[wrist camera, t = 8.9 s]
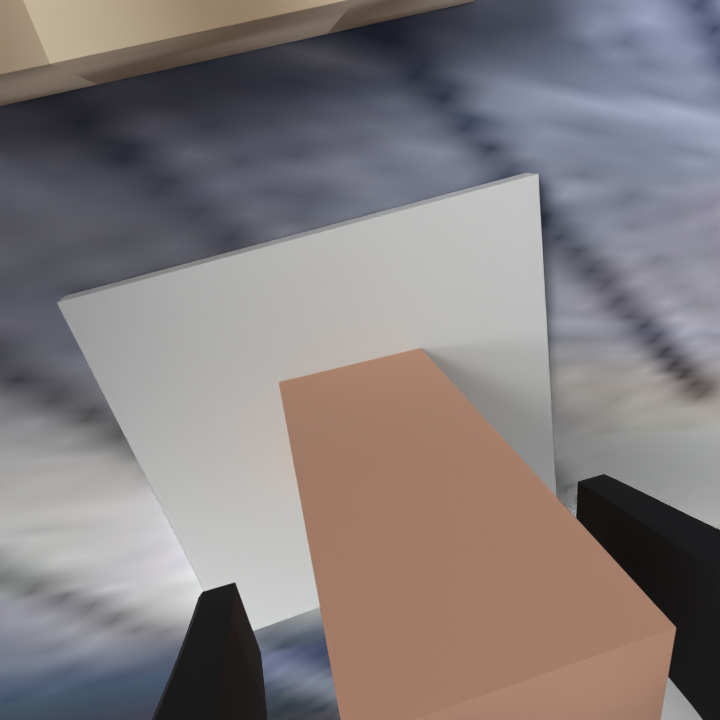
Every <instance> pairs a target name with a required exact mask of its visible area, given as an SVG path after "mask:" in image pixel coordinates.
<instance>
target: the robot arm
mask: <svg viewBox="0 0 720 720" xmlns="http://www.w3.org/2000/svg"><path fill="white" fill-rule="evenodd" d="M576 519H577V520H578V521H579V522H580V523H581V524H582V525H583V526H584V527H585V528H586V529H587V531H588V532H589V533H590V534H591V535H592V536H593V537H594V538H595V539H596V540H597V541H598V543H599V544H600V545H601V546H602V547H603V548H604V549H605V550H606V551H607V552H608V554H609V555H610V556H611V557H612V558H613V559H614V560H615V561H616V562H617V563H618V564H619V566H620V567H621V568H622V569H623V570H624V571H625V572H626V573H627V574H628V575H629V576H630V578H631V579H632V580H633V581H634V582H635V583H636V584H637V585H638V586H639V587H640V589H641V590H642V591H643V592H644V593H645V594H646V595H647V596H648V597H649V598H650V599H651V601H652V602H653V603H654V604H655V605H656V606H657V607H658V608H659V609H660V610H661V611H662V613H663V614H664V615H665V616H666V617H667V618H668V619H669V620H670V621H671V622H672V623H673V625H674V626H675V627H676V632H675V638H674V644H673V650H672V656H671V662H670V667H669V673H668V677H669V679H670V680H671V681H672V682H673V683H674V685H675V686H676V687H677V688H678V689H679V691H680V692H681V693H682V694H683V695H684V697H685V698H686V699H687V700H688V702H689V703H690V704H691V705H692V706H693V708H694V709H695V710H696V712H697V713H698V714H699V716H700V717H701V718H702V719H703V720H720V530H719V529H716V528H714V527H712V526H710V525H708V524H706V523H704V522H702V521H700V520H698V519H696V518H693V517H691V516H689V515H687V514H685V513H683V512H681V511H679V510H677V509H675V508H673V507H671V506H669V505H667V504H665V503H663V502H661V501H659V500H657V499H655V498H653V497H651V496H649V495H647V494H645V493H643V492H641V491H639V490H637V489H634V488H632V487H630V486H628V485H626V484H624V483H622V482H620V481H618V480H616V479H614V478H611V477H609V476H607V475H605V474H603V475H599V476H596V477H593V478H589V479H586V480H582V481H579V482H578V493H577V517H576ZM152 720H267V710H266V699H265V689H264V679H263V669H262V660H261V652H260V649H259V646H258V644H257V641H256V638H255V635H254V633H253V630H252V627H251V624H250V622H249V619H248V616H247V613H246V610H245V608H244V605H243V602H242V599H241V597H240V594H239V591H238V588H237V586H236V583H235V582H234V583H231V584H227V585H224V586H220V587H217V588H214V589H210V590H207V591H203V592H202V594H201V595H200V597H199V598H198V601H197V604H196V607H195V610H194V613H193V616H192V619H191V622H190V625H189V628H188V630H187V633H186V636H185V639H184V641H183V644H182V647H181V649H180V652H179V655H178V657H177V660H176V662H175V665H174V668H173V670H172V673H171V675H170V677H169V680H168V682H167V685H166V687H165V690H164V692H163V694H162V697H161V699H160V702H159V704H158V706H157V709H156V711H155V714H154V716H153V718H152Z"/></svg>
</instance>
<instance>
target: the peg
mask: <svg viewBox="0 0 720 720" xmlns="http://www.w3.org/2000/svg"><path fill="white" fill-rule="evenodd" d="M279 387H280V392H281V398H282V403H283V408H284V414H285V419H286V425H287V430H288V436H289V441H290V447H291V452H292V457H293V463H294V468H295V474H296V479H297V485H298V490H299V495H300V501H301V506H302V512H303V517H304V523H305V528H306V534H307V539H308V544H309V550H310V555H311V561H312V566H313V572H314V577H315V582H316V588H317V593H318V599H319V604H320V610H321V615H322V620H323V626H324V631H325V637H326V642H327V648H328V653H329V659H330V664H331V669H332V675H333V680H334V686H335V691H336V697H337V702H338V707H339V713H340V718H341V720H661V714H662V708H663V702H664V697H665V691H666V685H667V679H668V673H669V667H670V662H671V656H672V650H673V644H674V638H675V632H676V627H675V626H674V625H673V623H672V622H671V621H670V620H669V619H668V618H667V617H666V616H665V615H664V614H663V613H662V611H661V610H660V609H659V608H658V607H657V606H656V605H655V604H654V603H653V602H652V601H651V599H650V598H649V597H648V596H647V595H646V594H645V593H644V592H643V591H642V590H641V589H640V587H639V586H638V585H637V584H636V583H635V582H634V581H633V580H632V579H631V578H630V576H629V575H628V574H627V573H626V572H625V571H624V570H623V569H622V568H621V567H620V566H619V564H618V563H617V562H616V561H615V560H614V559H613V558H612V557H611V556H610V555H609V554H608V552H607V551H606V550H605V549H604V548H603V547H602V546H601V545H600V544H599V543H598V541H597V540H596V539H595V538H594V537H593V536H592V535H591V534H590V533H589V532H588V531H587V529H586V528H585V527H584V526H583V525H582V524H581V523H580V522H579V521H578V520H577V519H576V517H575V516H574V515H573V514H572V513H571V512H570V511H569V510H568V509H567V508H566V506H565V505H564V504H563V503H562V502H561V501H560V500H559V499H558V498H557V497H556V496H555V494H554V493H553V492H552V491H551V490H550V489H549V488H548V487H547V486H546V485H545V484H544V482H543V481H542V480H541V479H540V478H539V477H538V476H537V475H536V474H535V473H534V472H533V470H532V469H531V468H530V467H529V466H528V465H527V464H526V463H525V462H524V461H523V459H522V458H521V457H520V456H519V455H518V454H517V453H516V452H515V451H514V450H513V449H512V447H511V446H510V445H509V444H508V443H507V442H506V441H505V440H504V439H503V438H502V437H501V435H500V434H499V433H498V432H497V431H496V430H495V429H494V428H493V427H492V426H491V424H490V423H489V422H488V421H487V420H486V419H485V418H484V417H483V416H482V415H481V414H480V412H479V411H478V410H477V409H476V408H475V407H474V406H473V405H472V404H471V403H470V402H469V400H468V399H467V398H466V397H465V396H464V395H463V394H462V393H461V392H460V391H459V390H458V388H457V387H456V386H455V385H454V384H453V383H452V382H451V381H450V380H449V379H448V377H447V376H446V375H445V374H444V373H443V372H442V371H441V370H440V369H439V368H438V367H437V365H436V364H435V363H434V362H433V361H432V360H431V359H430V358H429V357H428V356H427V355H426V353H425V352H424V351H423V350H422V349H421V348H418V349H414V350H410V351H406V352H401V353H397V354H393V355H389V356H385V357H381V358H376V359H372V360H368V361H364V362H360V363H356V364H352V365H347V366H343V367H339V368H335V369H331V370H327V371H323V372H318V373H314V374H310V375H306V376H302V377H298V378H293V379H289V380H285V381H281V382H279Z"/></svg>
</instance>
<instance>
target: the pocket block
mask: <svg viewBox="0 0 720 720" xmlns="http://www.w3.org/2000/svg"><path fill="white" fill-rule="evenodd" d="M474 1H476V0H0V106H3V105H8V104H12V103H17V102H21V101H26V100H30V99H35V98H39V97H44V96H49V95H53V94H58V93H62V92H67V91H71V90H76V89H80V88H85V87H89V86H94V85H98V84H103V83H107V82H112V81H117V80H121V79H126V78H130V77H135V76H139V75H144V74H148V73H153V72H157V71H162V70H166V69H171V68H175V67H180V66H185V65H189V64H194V63H198V62H203V61H207V60H212V59H216V58H221V57H225V56H230V55H234V54H239V53H243V52H248V51H253V50H257V49H262V48H266V47H271V46H275V45H280V44H284V43H289V42H293V41H298V40H302V39H307V38H311V37H316V36H321V35H325V34H330V33H334V32H339V31H343V30H348V29H352V28H357V27H361V26H366V25H370V24H375V23H379V22H384V21H389V20H393V19H398V18H402V17H407V16H411V15H416V14H420V13H425V12H429V11H434V10H438V9H443V8H447V7H452V6H456V5H461V4H466V3H470V2H474Z"/></svg>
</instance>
